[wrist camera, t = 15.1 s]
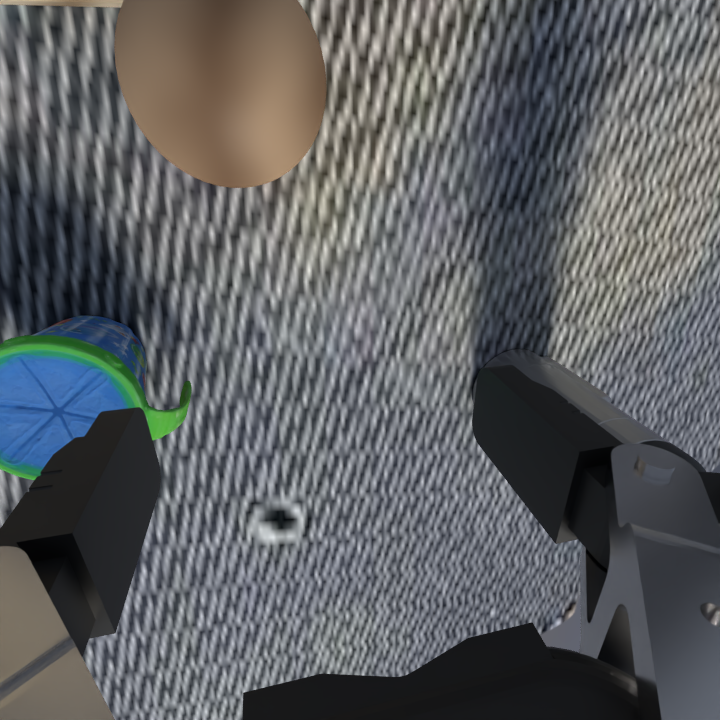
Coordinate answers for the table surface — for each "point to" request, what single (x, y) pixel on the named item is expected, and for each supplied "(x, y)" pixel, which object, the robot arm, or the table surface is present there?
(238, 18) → the tan spool shaped stand
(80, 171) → the table surface
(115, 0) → the shallow rimmed tray
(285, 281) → the table surface
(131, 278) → the table surface
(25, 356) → the snack cup
